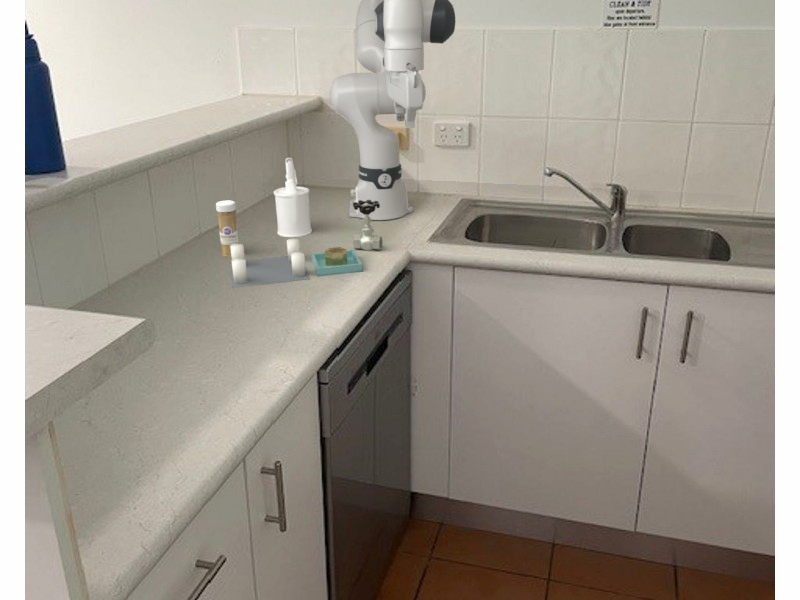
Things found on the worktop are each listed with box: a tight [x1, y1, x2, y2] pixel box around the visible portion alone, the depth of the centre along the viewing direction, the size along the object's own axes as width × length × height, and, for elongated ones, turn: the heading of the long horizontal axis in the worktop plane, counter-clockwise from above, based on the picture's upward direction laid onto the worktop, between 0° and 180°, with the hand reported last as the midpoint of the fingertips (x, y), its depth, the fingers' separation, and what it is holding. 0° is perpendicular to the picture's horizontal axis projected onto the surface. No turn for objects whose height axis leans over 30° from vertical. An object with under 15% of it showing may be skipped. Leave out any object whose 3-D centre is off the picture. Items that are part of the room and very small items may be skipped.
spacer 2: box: [231, 258, 248, 284], centre depth 159 cm, size 3×3×5 cm
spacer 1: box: [230, 243, 246, 261], centre depth 168 cm, size 3×3×5 cm
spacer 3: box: [286, 237, 301, 262], centre depth 171 cm, size 3×3×5 cm
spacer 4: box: [291, 251, 307, 277], centre depth 162 cm, size 3×3×5 cm
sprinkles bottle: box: [215, 199, 240, 258], centre depth 175 cm, size 5×5×13 cm
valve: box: [352, 200, 383, 252], centre depth 177 cm, size 7×7×12 cm
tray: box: [311, 249, 363, 277], centre depth 168 cm, size 10×10×2 cm
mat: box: [229, 255, 311, 289], centre depth 166 cm, size 17×17×1 cm
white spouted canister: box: [273, 157, 313, 238], centre depth 189 cm, size 10×9×20 cm
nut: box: [324, 246, 348, 267], centre depth 167 cm, size 4×5×4 cm
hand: (405, 124), depth 167 cm, fingers open, 8 cm apart
